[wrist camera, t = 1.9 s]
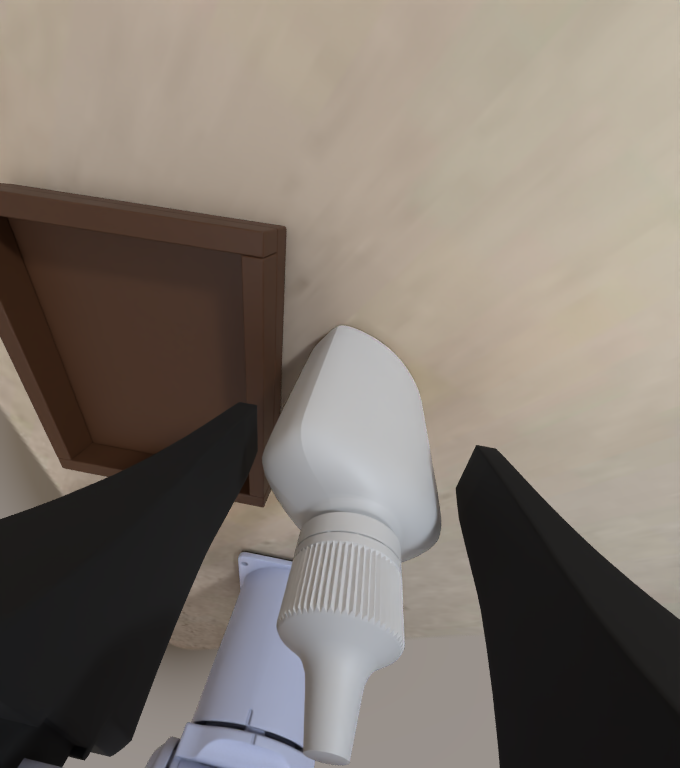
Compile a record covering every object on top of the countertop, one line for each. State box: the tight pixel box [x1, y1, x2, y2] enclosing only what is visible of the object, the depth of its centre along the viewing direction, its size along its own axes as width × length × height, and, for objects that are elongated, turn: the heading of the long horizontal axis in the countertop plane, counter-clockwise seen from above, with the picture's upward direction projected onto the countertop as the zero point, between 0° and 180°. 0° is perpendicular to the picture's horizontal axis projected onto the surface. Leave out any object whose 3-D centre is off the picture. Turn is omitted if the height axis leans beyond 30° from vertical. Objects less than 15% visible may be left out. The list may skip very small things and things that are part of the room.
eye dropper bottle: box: [262, 325, 441, 765], centre depth 10 cm, size 4×6×12 cm
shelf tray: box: [0, 183, 286, 507], centre depth 15 cm, size 14×12×3 cm
